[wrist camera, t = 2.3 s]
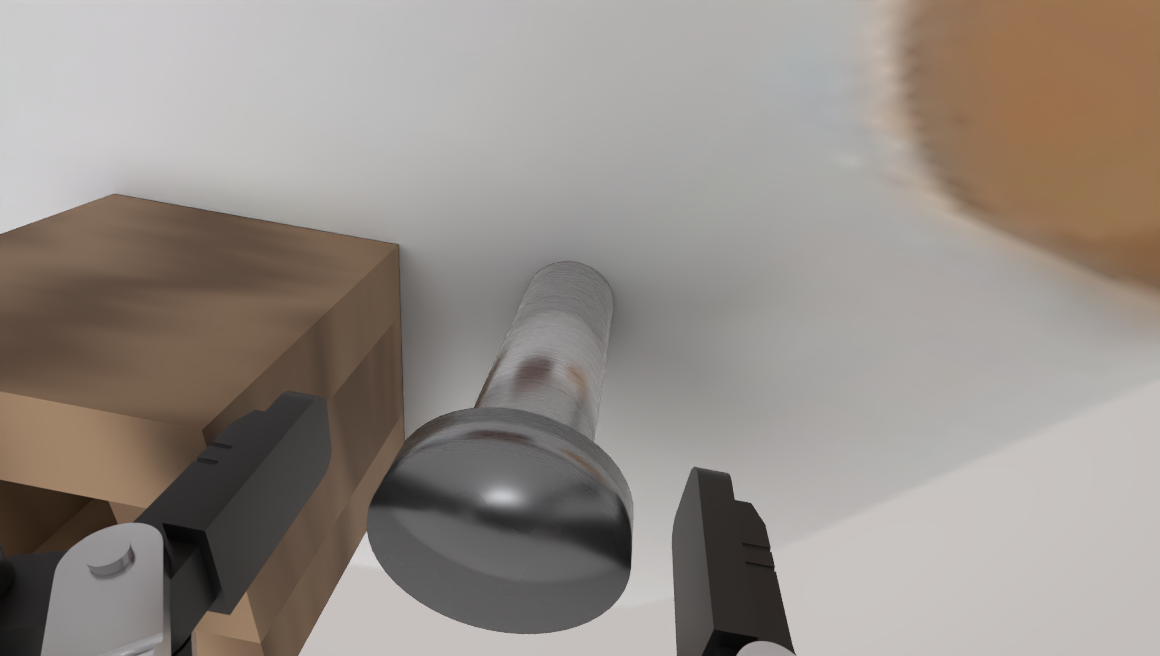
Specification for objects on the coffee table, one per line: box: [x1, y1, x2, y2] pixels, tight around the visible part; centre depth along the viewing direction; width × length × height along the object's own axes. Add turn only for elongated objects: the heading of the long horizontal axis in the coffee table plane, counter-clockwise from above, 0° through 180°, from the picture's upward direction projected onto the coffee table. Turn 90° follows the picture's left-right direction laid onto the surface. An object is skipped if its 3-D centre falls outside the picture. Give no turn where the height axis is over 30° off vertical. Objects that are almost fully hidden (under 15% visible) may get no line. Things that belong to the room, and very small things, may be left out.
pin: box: [367, 262, 633, 634], centre depth 15 cm, size 5×5×10 cm
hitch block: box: [0, 194, 404, 656], centre depth 18 cm, size 10×10×10 cm
